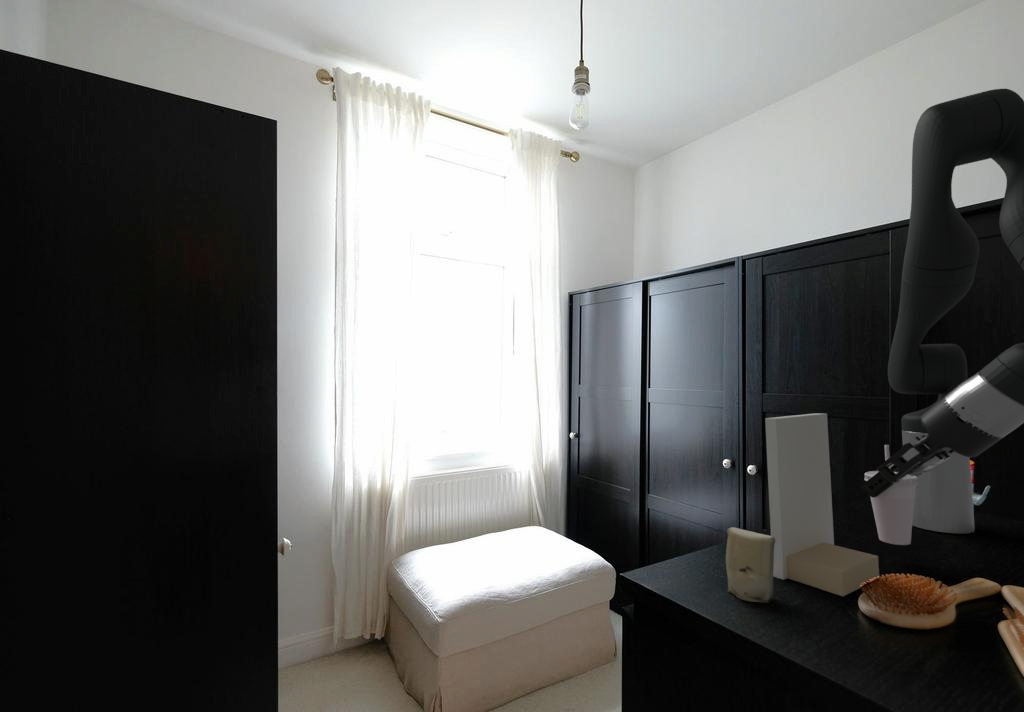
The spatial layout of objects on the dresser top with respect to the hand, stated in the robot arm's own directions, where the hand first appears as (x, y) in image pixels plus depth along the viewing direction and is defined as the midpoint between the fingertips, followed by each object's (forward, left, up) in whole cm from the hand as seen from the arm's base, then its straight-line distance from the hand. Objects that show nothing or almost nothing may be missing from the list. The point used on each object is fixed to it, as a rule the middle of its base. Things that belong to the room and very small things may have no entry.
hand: (878, 488), depth 74 cm
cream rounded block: (+27, -4, -11) cm, 30 cm away
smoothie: (0, +2, -8) cm, 8 cm away
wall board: (+12, -1, -11) cm, 16 cm away
